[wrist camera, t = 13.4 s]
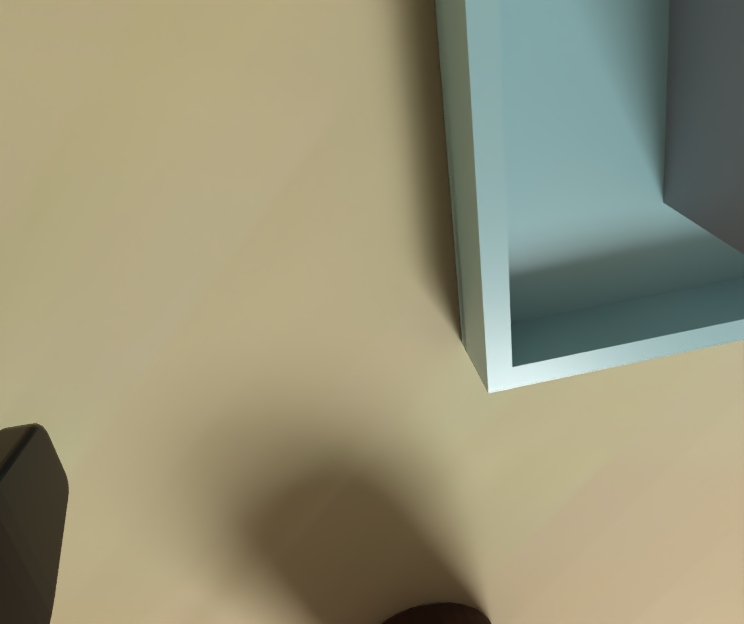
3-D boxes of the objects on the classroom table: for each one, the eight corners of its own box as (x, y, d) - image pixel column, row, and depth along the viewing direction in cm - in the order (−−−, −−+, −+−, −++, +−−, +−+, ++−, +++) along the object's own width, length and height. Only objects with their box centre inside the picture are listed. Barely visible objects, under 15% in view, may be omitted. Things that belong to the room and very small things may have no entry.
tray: (462, 343, 24) (488, 393, 21) (422, -155, 17) (455, -171, 14) (847, 265, 25) (917, 303, 22) (967, -235, 18) (1090, -264, 15)
